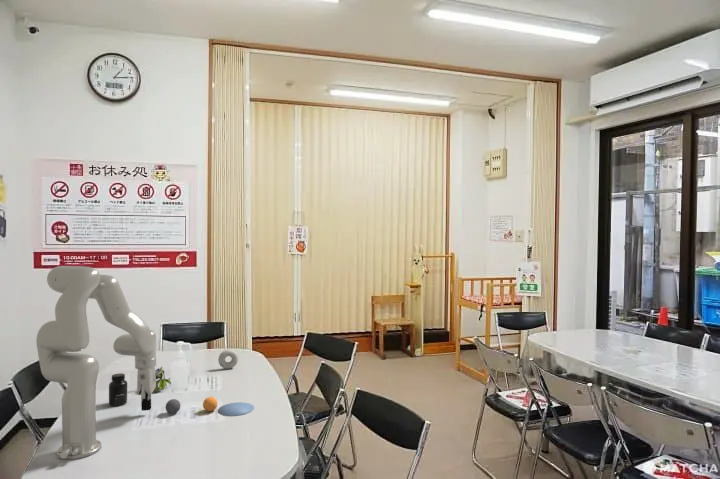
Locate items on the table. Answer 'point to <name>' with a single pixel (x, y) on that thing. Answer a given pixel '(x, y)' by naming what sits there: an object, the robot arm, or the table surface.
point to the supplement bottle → (118, 390)
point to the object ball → (210, 404)
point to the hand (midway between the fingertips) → (146, 409)
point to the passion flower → (160, 380)
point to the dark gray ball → (172, 406)
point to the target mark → (236, 409)
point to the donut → (232, 363)
